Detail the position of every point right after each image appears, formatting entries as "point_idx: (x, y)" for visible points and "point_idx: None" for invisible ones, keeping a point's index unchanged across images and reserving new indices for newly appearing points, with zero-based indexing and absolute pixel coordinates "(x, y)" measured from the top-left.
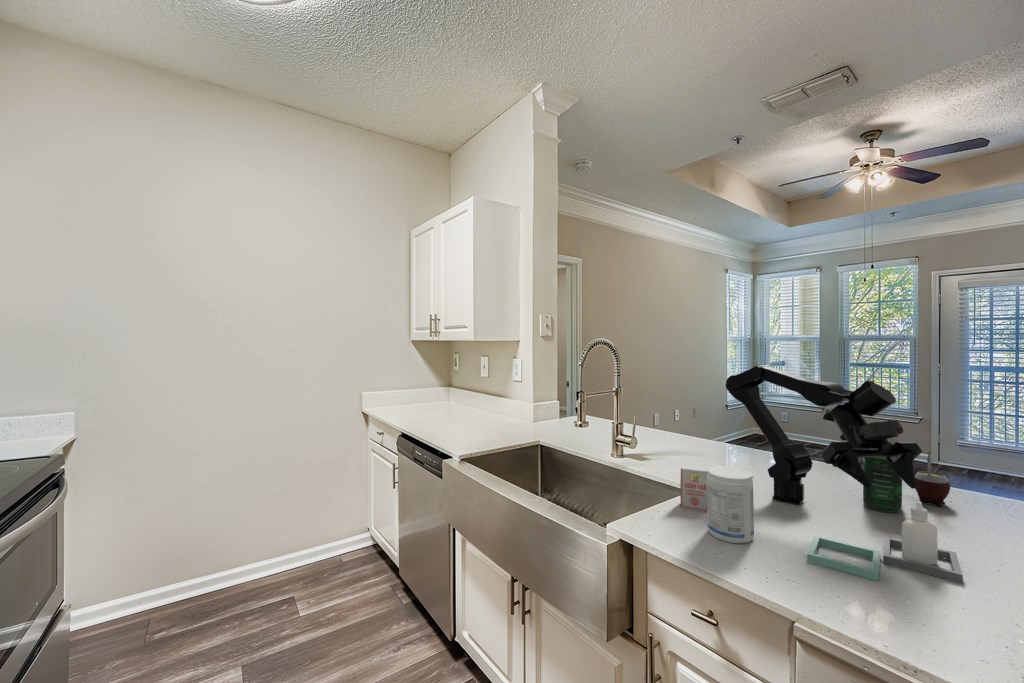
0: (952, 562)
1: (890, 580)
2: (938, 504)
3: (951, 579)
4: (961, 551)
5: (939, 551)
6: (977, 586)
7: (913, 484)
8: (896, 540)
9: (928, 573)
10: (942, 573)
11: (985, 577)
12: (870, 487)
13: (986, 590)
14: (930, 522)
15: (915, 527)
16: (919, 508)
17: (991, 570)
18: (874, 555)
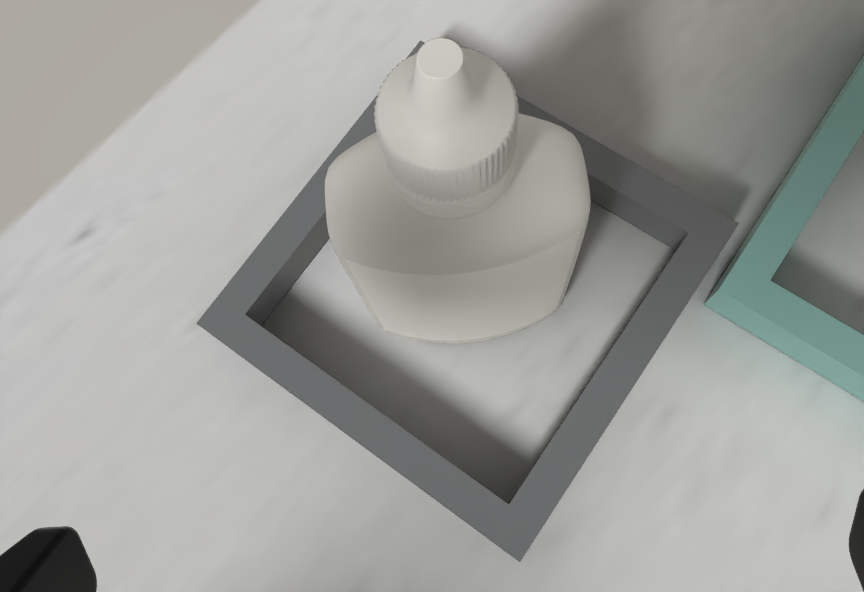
0: None
1: (805, 49)
2: None
3: None
4: (62, 467)
5: (283, 344)
6: (373, 50)
7: (54, 550)
8: (472, 483)
9: None
10: None
11: (242, 144)
12: (857, 514)
13: (362, 20)
14: (369, 152)
15: (541, 119)
16: (469, 62)
17: (129, 226)
18: (799, 218)
